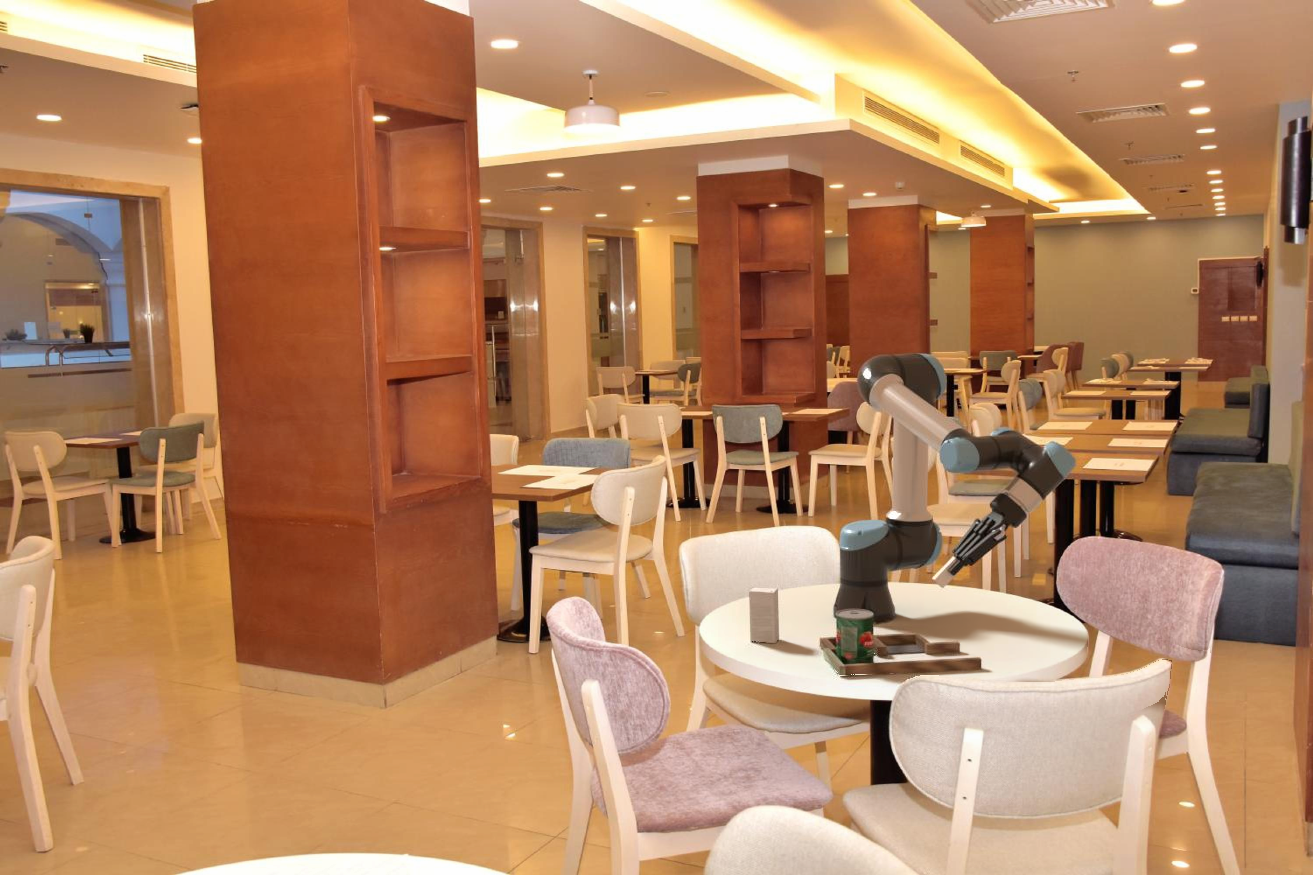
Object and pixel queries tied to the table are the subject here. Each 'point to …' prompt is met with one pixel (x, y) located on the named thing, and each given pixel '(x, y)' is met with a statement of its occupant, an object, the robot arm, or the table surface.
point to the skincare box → (764, 615)
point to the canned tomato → (855, 636)
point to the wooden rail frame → (899, 646)
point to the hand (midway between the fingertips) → (937, 583)
